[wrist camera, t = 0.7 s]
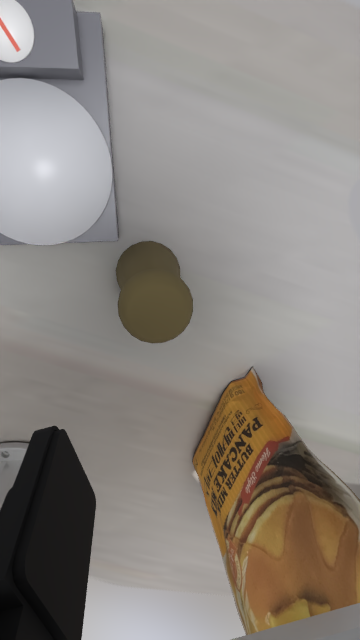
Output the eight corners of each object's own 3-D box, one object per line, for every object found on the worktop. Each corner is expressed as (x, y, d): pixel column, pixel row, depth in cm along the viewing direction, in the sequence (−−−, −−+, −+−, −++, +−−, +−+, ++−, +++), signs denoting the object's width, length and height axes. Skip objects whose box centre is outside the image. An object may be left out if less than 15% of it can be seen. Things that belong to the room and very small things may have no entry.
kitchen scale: (118, 236, 31) (116, 247, 26) (-12, 240, 29) (-40, 252, 24) (102, 27, 25) (96, -10, 20) (-60, 20, 24) (-109, -22, 19)
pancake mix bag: (291, 365, 38) (622, 735, 13) (225, 489, 44) (361, 915, 19) (239, 350, 37) (497, 740, 11) (177, 481, 43) (253, 938, 17)
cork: (137, 314, 34) (140, 371, 24) (103, 261, 31) (91, 299, 21) (190, 284, 33) (218, 329, 23) (160, 228, 31) (176, 251, 21)
